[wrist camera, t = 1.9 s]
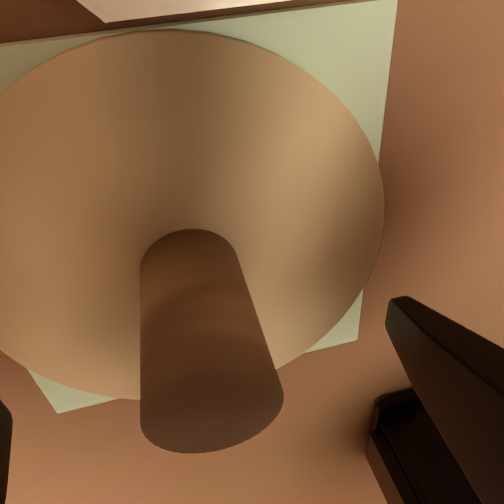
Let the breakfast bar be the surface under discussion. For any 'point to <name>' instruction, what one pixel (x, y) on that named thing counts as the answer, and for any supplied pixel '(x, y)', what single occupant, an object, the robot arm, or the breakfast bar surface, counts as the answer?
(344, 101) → the mat
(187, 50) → the lid
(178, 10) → the bowl
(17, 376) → the breakfast bar surface
